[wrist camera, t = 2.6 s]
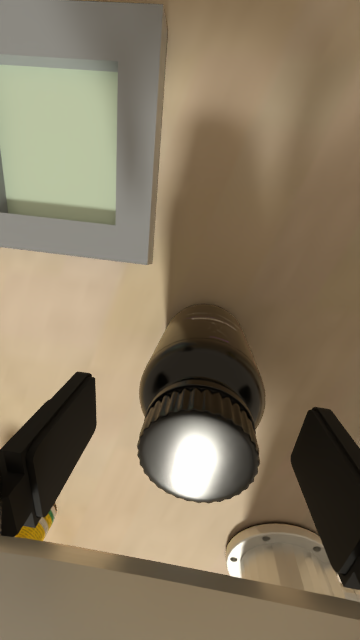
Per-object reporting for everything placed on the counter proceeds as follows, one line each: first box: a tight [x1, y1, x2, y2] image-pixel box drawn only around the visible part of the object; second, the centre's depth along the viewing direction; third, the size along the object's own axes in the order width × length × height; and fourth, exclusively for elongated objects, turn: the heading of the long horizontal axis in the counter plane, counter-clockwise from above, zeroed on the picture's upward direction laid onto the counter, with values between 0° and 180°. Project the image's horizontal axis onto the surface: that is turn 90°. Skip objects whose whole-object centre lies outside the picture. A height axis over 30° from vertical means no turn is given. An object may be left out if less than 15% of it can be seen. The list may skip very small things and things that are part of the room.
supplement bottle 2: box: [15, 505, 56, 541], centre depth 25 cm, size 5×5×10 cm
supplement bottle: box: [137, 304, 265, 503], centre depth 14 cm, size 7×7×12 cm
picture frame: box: [0, 0, 168, 265], centre depth 16 cm, size 14×14×2 cm
